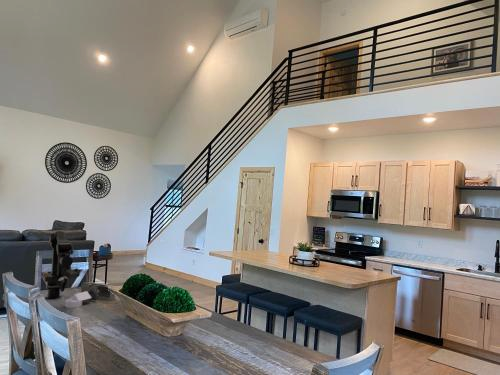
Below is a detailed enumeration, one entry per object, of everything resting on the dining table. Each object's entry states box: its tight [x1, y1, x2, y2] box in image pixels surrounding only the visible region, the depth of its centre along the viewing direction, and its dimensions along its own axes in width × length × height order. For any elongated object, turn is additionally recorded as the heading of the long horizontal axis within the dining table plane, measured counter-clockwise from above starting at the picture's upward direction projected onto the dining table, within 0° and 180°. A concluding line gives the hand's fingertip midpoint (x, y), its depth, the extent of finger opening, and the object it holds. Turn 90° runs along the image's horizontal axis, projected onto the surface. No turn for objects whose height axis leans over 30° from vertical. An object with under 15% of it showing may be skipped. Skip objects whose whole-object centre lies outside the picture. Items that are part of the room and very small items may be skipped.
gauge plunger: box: [80, 281, 108, 301], centre depth 226 cm, size 18×6×9 cm, turn 69°
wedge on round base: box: [64, 291, 91, 309], centre depth 215 cm, size 9×7×13 cm
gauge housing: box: [82, 281, 116, 302], centre depth 231 cm, size 22×4×8 cm, turn 69°
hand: (62, 291), depth 205 cm, fingers closed
